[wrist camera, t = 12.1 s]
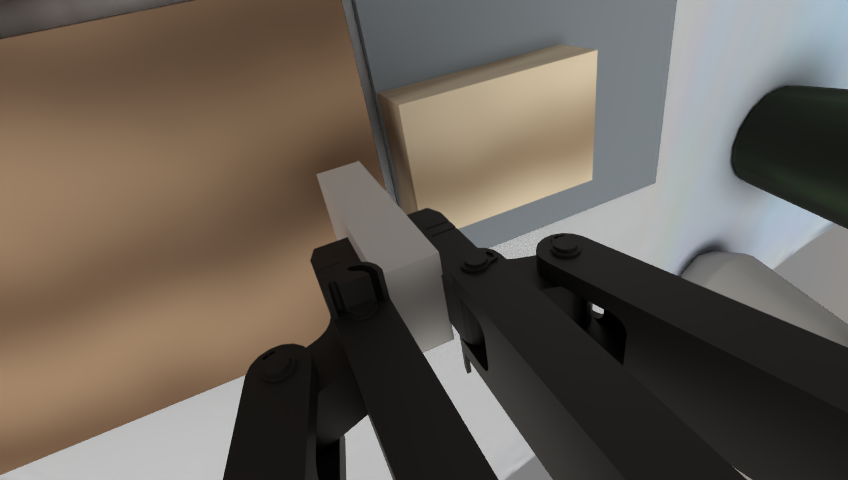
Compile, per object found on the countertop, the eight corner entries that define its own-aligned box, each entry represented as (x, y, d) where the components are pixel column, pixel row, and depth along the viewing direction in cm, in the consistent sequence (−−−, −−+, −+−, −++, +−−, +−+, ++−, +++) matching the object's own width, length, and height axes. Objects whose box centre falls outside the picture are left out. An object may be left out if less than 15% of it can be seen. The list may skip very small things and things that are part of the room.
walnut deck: (-448, 127, 12) (-586, 157, 10) (318, -26, 17) (335, -28, 14) (-51, 453, 19) (-82, 508, 17) (395, 279, 24) (412, 306, 22)
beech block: (377, 92, 19) (398, 105, 17) (560, 44, 21) (597, 50, 19) (404, 218, 22) (424, 241, 20) (559, 164, 24) (592, 179, 22)
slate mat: (345, -31, 17) (348, -32, 16) (680, -98, 21) (688, -99, 20) (412, 272, 24) (415, 276, 24) (650, 180, 28) (655, 182, 28)
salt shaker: (657, 290, 34) (862, 426, 23) (710, 228, 33) (947, 340, 22) (688, 315, 37) (879, 444, 27) (737, 259, 36) (955, 369, 26)
